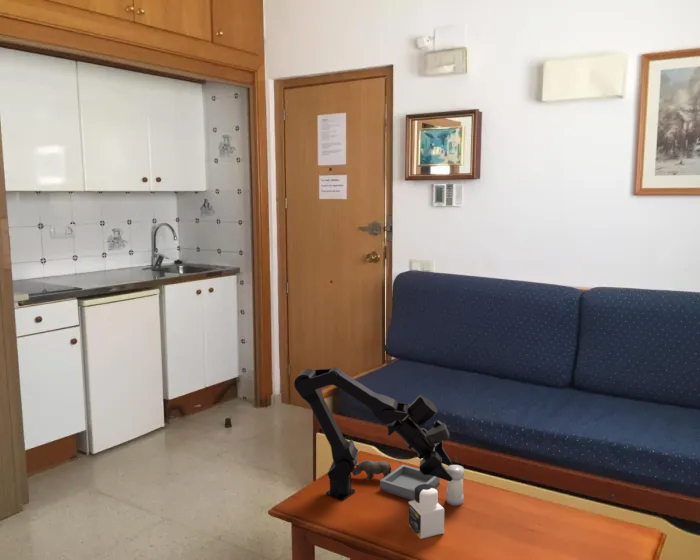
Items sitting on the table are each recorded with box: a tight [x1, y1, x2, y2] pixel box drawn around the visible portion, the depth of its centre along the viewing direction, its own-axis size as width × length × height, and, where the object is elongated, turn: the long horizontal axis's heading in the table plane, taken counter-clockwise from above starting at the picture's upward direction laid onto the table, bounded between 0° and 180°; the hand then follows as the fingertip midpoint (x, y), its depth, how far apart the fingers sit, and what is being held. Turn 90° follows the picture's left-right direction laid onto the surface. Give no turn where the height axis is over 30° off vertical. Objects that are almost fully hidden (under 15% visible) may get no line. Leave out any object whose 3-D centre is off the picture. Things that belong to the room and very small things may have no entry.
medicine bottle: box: [408, 484, 445, 540], centre depth 170 cm, size 7×7×12 cm
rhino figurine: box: [351, 459, 392, 481], centre depth 200 cm, size 4×14×6 cm, turn 81°
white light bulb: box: [446, 464, 465, 506], centre depth 185 cm, size 5×5×10 cm
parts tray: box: [379, 464, 441, 501], centre depth 194 cm, size 13×13×3 cm
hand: (451, 472), depth 184 cm, fingers open, 9 cm apart
